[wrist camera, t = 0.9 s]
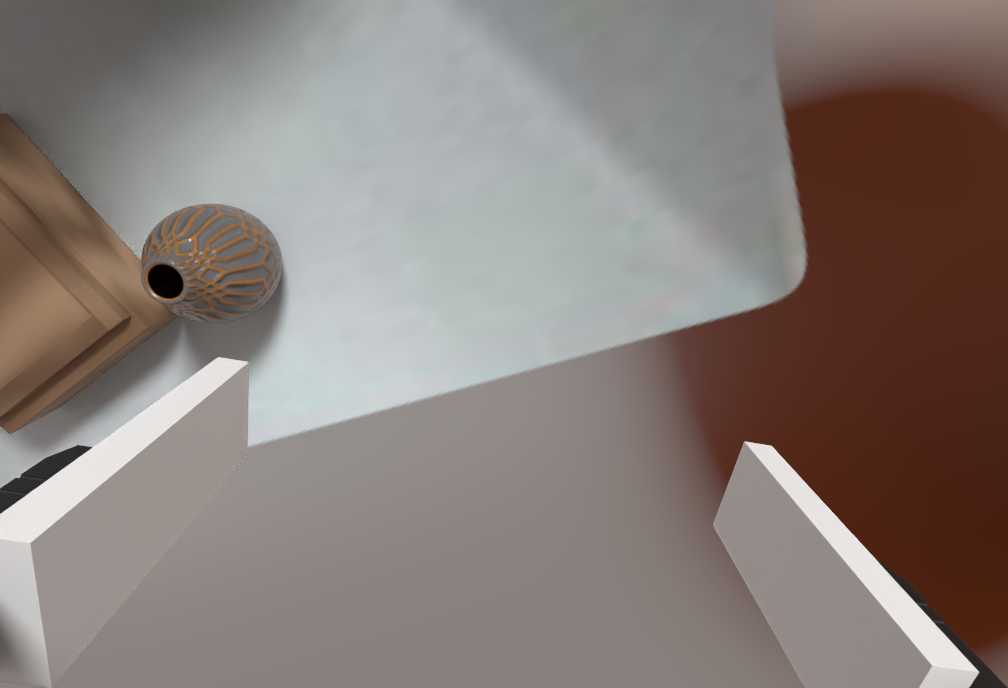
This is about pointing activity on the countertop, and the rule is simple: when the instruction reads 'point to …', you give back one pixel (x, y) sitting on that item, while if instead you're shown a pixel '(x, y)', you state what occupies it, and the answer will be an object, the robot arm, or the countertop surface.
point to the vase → (211, 263)
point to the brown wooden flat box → (59, 287)
